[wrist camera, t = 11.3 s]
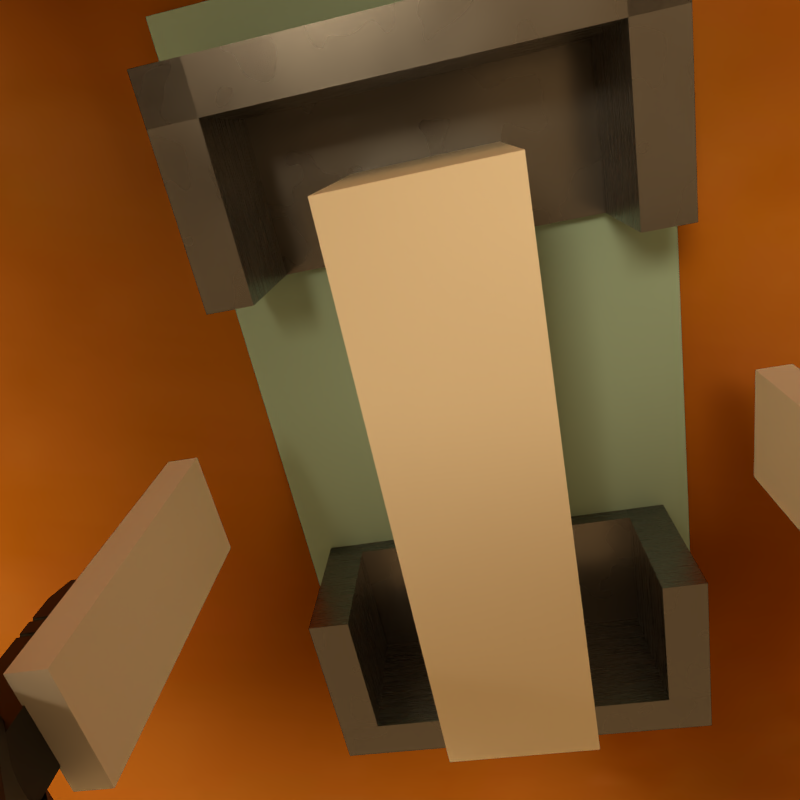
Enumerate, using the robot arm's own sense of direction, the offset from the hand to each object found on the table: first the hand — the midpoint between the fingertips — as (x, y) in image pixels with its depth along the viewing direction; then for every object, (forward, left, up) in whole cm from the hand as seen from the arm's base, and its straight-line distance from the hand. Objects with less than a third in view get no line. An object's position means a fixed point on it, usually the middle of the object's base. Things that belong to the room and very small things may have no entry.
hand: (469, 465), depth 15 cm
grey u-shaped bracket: (-7, 0, -5) cm, 9 cm away
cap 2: (+8, 0, -5) cm, 10 cm away
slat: (+1, 0, -5) cm, 5 cm away
